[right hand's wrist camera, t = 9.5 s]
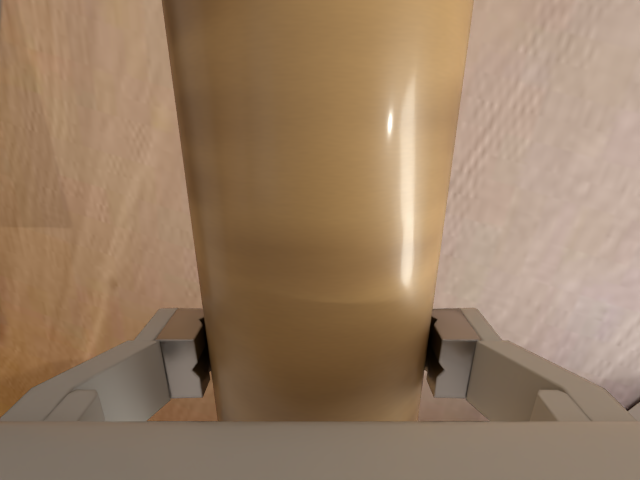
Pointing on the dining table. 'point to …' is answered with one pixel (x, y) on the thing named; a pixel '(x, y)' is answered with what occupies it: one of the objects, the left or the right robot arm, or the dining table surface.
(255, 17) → the rod
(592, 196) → the dining table surface
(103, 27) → the dining table surface
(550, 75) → the dining table surface
